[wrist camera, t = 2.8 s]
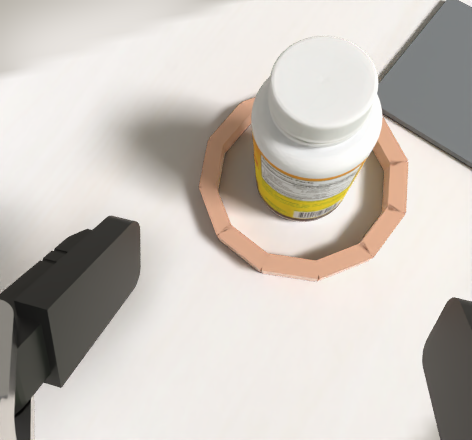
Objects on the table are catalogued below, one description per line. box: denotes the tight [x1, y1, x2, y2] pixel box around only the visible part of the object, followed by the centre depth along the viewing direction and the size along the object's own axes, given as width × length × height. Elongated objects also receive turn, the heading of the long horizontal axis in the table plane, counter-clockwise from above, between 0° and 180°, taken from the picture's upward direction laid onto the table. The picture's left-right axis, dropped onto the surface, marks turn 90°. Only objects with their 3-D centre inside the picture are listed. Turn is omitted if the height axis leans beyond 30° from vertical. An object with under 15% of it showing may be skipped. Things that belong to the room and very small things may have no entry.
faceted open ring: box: [199, 97, 408, 281], centre depth 23 cm, size 12×12×1 cm
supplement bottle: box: [251, 36, 382, 222], centre depth 19 cm, size 6×6×10 cm
